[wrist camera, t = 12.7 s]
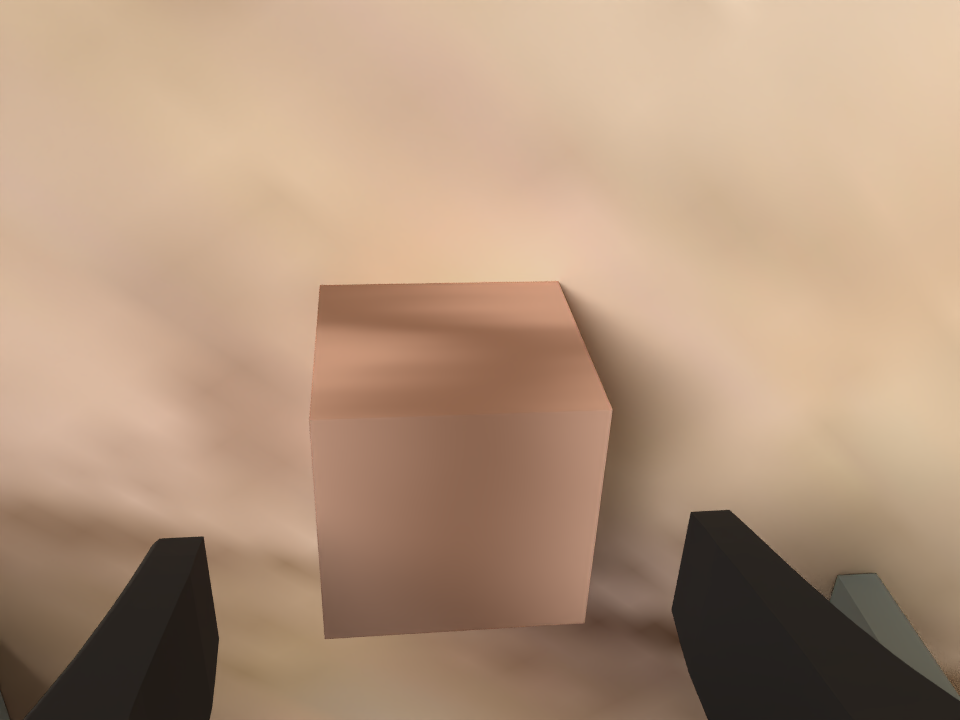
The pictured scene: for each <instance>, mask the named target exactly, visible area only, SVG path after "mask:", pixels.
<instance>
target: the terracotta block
mask: <svg viewBox="0 0 960 720" xmlns="http://www.w3.org/2000/svg"><path fill="white" fill-rule="evenodd" d="M612 411H613V410H612V407H611V405H610V402H609V400H608V398H607V395H606V393H605V391H604V388H603V386H602V384H601V381H600V379H599V377H598V374H597V372H596V369H595V367H594V365H593V362H592V360H591V358H590V355H589V353H588V351H587V348H586V346H585V343H584V341H583V339H582V336H581V334H580V332H579V329H578V327H577V325H576V322H575V320H574V318H573V315H572V313H571V310H570V308H569V306H568V303H567V301H566V299H565V296H564V294H563V292H562V289H561V287H560V285H559V282H558V281H544V282H484V283H425V284H366V285H320V291H319V304H318V316H317V329H316V341H315V354H314V366H313V379H312V392H311V404H310V417H309V424H310V438H311V452H312V466H313V480H314V494H315V508H316V522H317V537H318V551H319V565H320V579H321V593H322V607H323V621H324V635H325V639H334V638H350V637H366V636H383V635H399V634H415V633H431V632H448V631H464V630H480V629H497V628H513V627H529V626H545V625H562V624H578V623H585V615H586V608H587V600H588V593H589V585H590V577H591V570H592V562H593V555H594V547H595V540H596V532H597V524H598V517H599V509H600V502H601V494H602V487H603V479H604V471H605V464H606V456H607V449H608V441H609V434H610V426H611V418H612Z"/></svg>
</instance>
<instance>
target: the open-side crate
mask: <svg viewBox="0 0 960 720" xmlns="http://www.w3.org/2000/svg"><path fill="white" fill-rule="evenodd" d="M829 602H830V603H832V604H833V605H834V606H835V607H836V608H837V609H839V610H840V611H841V612H842V613H843V614H845V615H846V616H847V617H848V618H849V619H850V620H852V621H853V622H854V623H855V624H856V625H858V626H859V627H860V628H861V629H863V630H864V631H865V632H866V633H868V634H869V635H870V636H871V637H873V638H874V639H875V640H876V641H878V642H879V643H880V644H882V645H883V646H884V647H885V648H887V649H888V650H889V651H890V652H892V653H893V654H894V655H896V656H897V657H898V658H900V659H901V660H902V661H904V662H905V663H906V664H908V665H909V666H910V667H912V668H913V669H914V670H916V671H917V672H919V673H920V674H922V675H923V676H925V677H926V678H927V679H929V680H930V681H932V682H933V683H935V684H936V685H937V686H939V687H940V688H942V689H943V690H945V691H946V692H948V693H949V694H950V695H952V696H953V697H955V698H956V699H958V700H959V701H960V696H959V695H958V693H957V692H956V690H955V689H954V687H953V686H952V684H951V683H950V681H949V680H948V679H947V677H946V676H945V674H944V673H943V671H942V670H941V668H940V667H939V665H938V664H937V662H936V661H935V659H934V658H933V656H932V655H931V653H930V652H929V650H928V649H927V648H926V646H925V645H924V643H923V642H922V640H921V639H920V637H919V636H918V634H917V633H916V631H915V630H914V628H913V627H912V625H911V624H910V622H909V621H908V619H907V618H906V617H905V615H904V614H903V612H902V611H901V609H900V608H899V606H898V605H897V603H896V602H895V600H894V599H893V597H892V596H891V594H890V593H889V591H888V590H887V588H886V587H885V586H884V584H883V583H882V581H881V580H880V578H879V577H878V575H877V574H876V573H872V574H854V575H838V576H837V579H836V583H835V586H834V589H833V592H832V595H831V598H830V601H829ZM0 720H10V718H9V715H8V712H7V709H6V706H5V703H4V700H3V697H2V695H1V692H0Z"/></svg>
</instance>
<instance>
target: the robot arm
mask: <svg viewBox="0 0 960 720" xmlns="http://www.w3.org/2000/svg"><path fill="white" fill-rule="evenodd" d="M672 613H673V617H674V621H675V625H676V629H677V632H678V636H679V640H680V644H681V647H682V651H683V654H684V658H685V661H686V665H687V668H688V672H689V674H690V677H691V679H692V682H693V684H694V687H695V689H696V691H697V694H698V696H699V699H700V701H701V704H702V706H703V708H704V711H705V713H706V716H707V718H708V720H960V701H959V700H958V699H956V698H955V697H953V696H952V695H950V694H949V693H948V692H946V691H945V690H943V689H942V688H940V687H939V686H937V685H936V684H935V683H933V682H932V681H930V680H929V679H927V678H926V677H925V676H923V675H922V674H920V673H919V672H917V671H916V670H914V669H913V668H912V667H910V666H909V665H908V664H906V663H905V662H904V661H902V660H901V659H900V658H898V657H897V656H896V655H894V654H893V653H892V652H890V651H889V650H888V649H887V648H885V647H884V646H883V645H882V644H880V643H879V642H878V641H876V640H875V639H874V638H873V637H871V636H870V635H869V634H868V633H866V632H865V631H864V630H863V629H861V628H860V627H859V626H858V625H856V624H855V623H854V622H853V621H852V620H850V619H849V618H848V617H847V616H846V615H845V614H843V613H842V612H841V611H840V610H839V609H837V608H836V607H835V606H834V605H833V604H832V603H830V602H829V601H828V600H827V599H826V598H825V597H824V596H822V595H821V594H820V593H819V592H818V591H817V590H816V589H815V588H813V587H812V586H811V585H810V584H809V583H808V582H807V581H806V580H805V579H803V578H802V577H801V576H800V575H799V574H798V573H797V572H796V571H795V570H794V569H792V568H791V567H790V566H789V565H788V564H787V563H786V562H785V561H784V560H783V559H782V558H781V557H780V556H778V555H777V554H776V553H775V552H774V551H773V550H772V549H771V548H770V547H769V546H768V545H767V544H766V543H765V542H764V541H762V540H761V539H760V538H759V537H758V536H757V535H756V534H755V533H754V532H753V531H752V530H751V529H750V528H749V527H748V526H747V525H745V524H744V523H743V522H742V521H741V520H740V519H739V518H738V517H737V516H736V515H735V514H733V513H732V512H731V511H730V510H720V511H700V512H691V514H690V519H689V524H688V529H687V534H686V539H685V544H684V549H683V554H682V559H681V564H680V569H679V575H678V580H677V585H676V590H675V595H674V600H673V605H672ZM218 643H219V636H218V629H217V622H216V616H215V609H214V603H213V596H212V590H211V583H210V577H209V570H208V563H207V557H206V550H205V544H204V537H184V538H164V539H159V540H158V541H156V542H155V543H154V544H153V545H152V547H151V548H150V550H149V551H148V553H147V555H146V556H145V558H144V559H143V561H142V563H141V564H140V566H139V567H138V569H137V570H136V572H135V574H134V575H133V577H132V578H131V580H130V581H129V583H128V584H127V586H126V587H125V589H124V590H123V592H122V593H121V594H120V596H119V597H118V599H117V600H116V602H115V603H114V605H113V606H112V607H111V609H110V610H109V612H108V613H107V615H106V616H105V617H104V619H103V620H102V621H101V623H100V624H99V625H98V627H97V628H96V629H95V631H94V632H93V634H92V635H91V636H90V638H89V639H88V640H87V642H86V643H85V644H84V646H83V647H82V648H81V650H80V651H79V652H78V654H77V655H76V656H75V658H74V659H73V660H72V661H71V663H70V664H69V665H68V666H67V668H66V669H65V670H64V671H63V673H62V674H61V675H60V676H59V677H58V679H57V680H56V681H55V682H54V683H53V685H52V686H51V687H50V688H49V690H48V691H47V692H46V693H45V694H44V696H43V697H42V698H41V699H40V700H39V702H38V703H37V704H36V705H35V707H34V708H33V709H32V710H31V711H30V712H29V713H28V715H27V716H26V717H25V718H24V719H23V720H209V719H210V715H211V710H212V704H213V694H214V685H215V676H216V665H217V654H218Z"/></svg>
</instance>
